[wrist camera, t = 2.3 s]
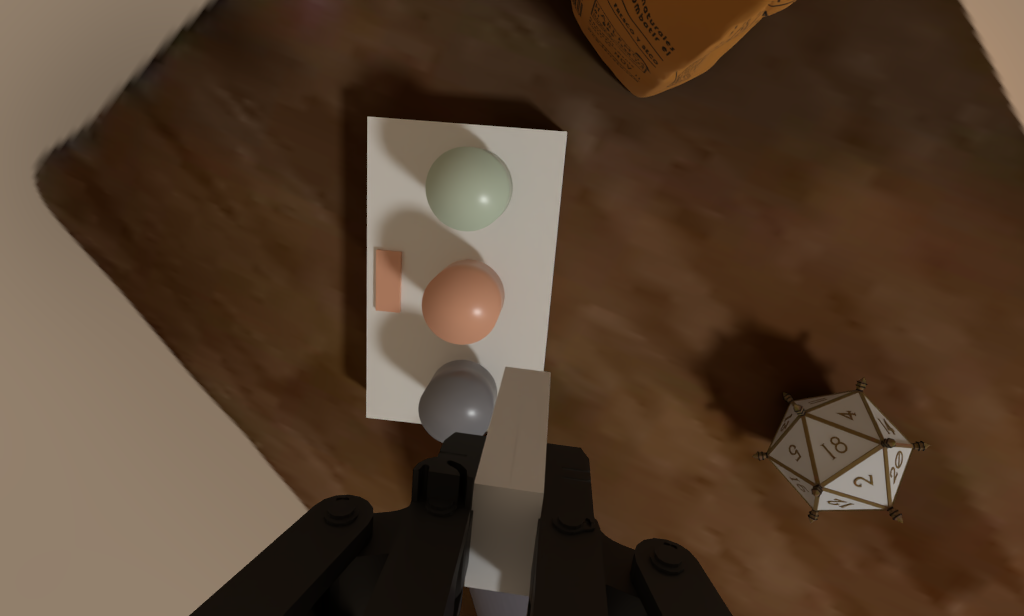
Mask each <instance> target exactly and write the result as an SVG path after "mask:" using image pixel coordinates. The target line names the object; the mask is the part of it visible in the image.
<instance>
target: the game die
mask: <svg viewBox="0 0 1024 616" xmlns="http://www.w3.org/2000/svg"><path fill="white" fill-rule="evenodd" d="M866 385H867V384H866V381H865V377H863V378H862V379H860V380H859V381H857V385H856V386H857V389H856V390H852V391H846V392H840V393H835V394H829V395H823V396H817V397H811V398H805V399H799V400H793V397H791V394H787V393H784V392H783V396H784V397H783V399H785V400H786V402H788V403H790V404H789V406H788V408H787V410H786V413H785V415H784V417H783V419H782V421H781V423H780V425H779V428H778V430H777V432H776V434H775V436H774V438H773V440H772V442H771V445H770V447H769V449H768V451H767V453H763V452H757V453H756V454H755V455H753V456H752V457H754V458H756V459H759V460H761V459H763V460H764V459H765V458H768V459H769V460H770V461H771V462H772V463H773V465H774V466H775V467H776V468H777V469H778V470H779V471H780V473H781V474H782V475H783V476H784V477H785V478H786V479H787V481H788V482H789V483H790V484H791V485H792V486H793V487H794V488H795V490H796V491H797V492H798V493H799V494H800V495H801V496H802V498H803V499H804V500H805V501H806V502H807V503H808V504H809V506H810V507H811V508H812V511H811V512H809V513H810V514H809V515H808V517H809V519H810V523H812V522H813V521H815V520H818V519H817V517H818V516H819V515H818V512H819V511H868V510H887V511H889V513H890V516H892V518H893V520H897V521H899V522H902V523H903V520H902V516H901V515H902V514H900V513H899V512H898V510H896V509H894V508H893V507H892V506H893V504H894V501H895V498H896V495H897V493H898V490H899V487H900V484H901V482H902V479H903V476H904V473H905V471H906V468H907V465H908V462H909V460H910V457H911V454H912V451H913V449H916V450H918V451H920V450H923V451H924V450H925V449H926V448H927V447H929V446H930V445H929V444H926V443H924V442H922V441H920V442H916V443H911V442H910V441H909V440H908V439H907V438H906V437H905V436H904V435H903V434H902V433H901V432H900V431H899V430H898V429H897V428H896V427H895V425H894V424H893V423H892V422H891V421H890V420H889V419H888V418H887V417H886V416H885V415H884V414H883V413H882V412H881V411H880V410H879V409H878V408H877V407H876V406H875V405H874V404H873V402H872V401H871V400H870V399H869V398H868V397H867V396H866V395H865V394H864V393H863V390H864V388H865V386H866Z"/></svg>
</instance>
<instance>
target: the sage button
mask: <svg viewBox="0 0 1024 616" xmlns="http://www.w3.org/2000/svg"><path fill="white" fill-rule="evenodd" d="M425 188H426V197H427V201H428V204H429V206H430V208H431V210H432V212H433V213H434V215H435V216H436V217H437V218H438V219H439V220H440V221H441V222H442V223H444V224H445V225H447V226H448V227H450V228H453V229H455V230H459V231H476V230H480V229H483V228H485V227H487V226H488V225H490V224H491V223H493V222H494V221H495V220H496V219H497V218H498V217H499V216H500V215H502V214H503V212H504V211H505V210H506V209H507V207H508V205H509V203H510V201H511V197H512V192H513V182H512V177H511V174H510V171H509V169H508V167H507V165H506V164H505V163H504V161H503V160H502V159H501V158H500V157H499V156H497V155H496V154H494V153H493V152H491V151H489V150H486V149H483V148H476V147H457V148H453V149H451V150H448V151H446V152H445V153H443V154H442V155H440V156H439V157H438V158H437V159H436V160H435V162H434V163H433V164H432V166H431V168H430V170H429V172H428V175H427V179H426V186H425Z"/></svg>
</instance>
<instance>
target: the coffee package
mask: <svg viewBox="0 0 1024 616" xmlns="http://www.w3.org/2000/svg"><path fill="white" fill-rule="evenodd" d="M794 1H796V0H571V4H572V10H573V13H574V16H575V18H576V20H577V22H578V24H579V26H580V28H581V30H582V32H583V33H584V34H585V36H586V37H587V39H588V40H589V42H590V43H591V44H592V46H593V47H594V49H595V50H596V51H597V53H598V54H599V56H600V57H601V59H602V60H603V61H604V62H605V64H606V65H607V66H608V67H609V68H610V69H611V71H612V72H613V73H614V74H615V76H616V77H617V78H618V79H619V80H620V82H621V83H622V84H623V85H624V86H625V87H626V88H627V89H628V90H629V91H630V92H631V93H632V94H633V95H635V96H637V97H641V98H643V97H649V96H653V95H656V94H658V93H661V92H663V91H666V90H668V89H670V88H673V87H676V86H678V85H681V84H683V83H685V82H687V81H689V80H691V79H693V78H695V77H697V76H698V75H700V74H702V73H704V72H706V71H707V70H708V69H710V68H711V67H712V66H713V65H714V64H715V63H716V62H717V61H718V59H719V58H720V57H721V56H722V55H723V54H725V53H726V52H727V51H728V50H729V49H730V48H731V47H732V46H734V45H735V44H736V43H737V42H738V41H739V40H740V39H741V38H742V37H743V36H744V35H745V34H746V33H747V32H748V31H749V30H750V29H751V28H752V27H753V26H754V25H756V24H757V23H758V22H759V21H760V19H761V18H762V17H766V16H769V15H772V14H775V13H778V12H780V11H782V10H783V9H785V8H786V7H788V6H789V5H791V4H792V3H793V2H794Z"/></svg>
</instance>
